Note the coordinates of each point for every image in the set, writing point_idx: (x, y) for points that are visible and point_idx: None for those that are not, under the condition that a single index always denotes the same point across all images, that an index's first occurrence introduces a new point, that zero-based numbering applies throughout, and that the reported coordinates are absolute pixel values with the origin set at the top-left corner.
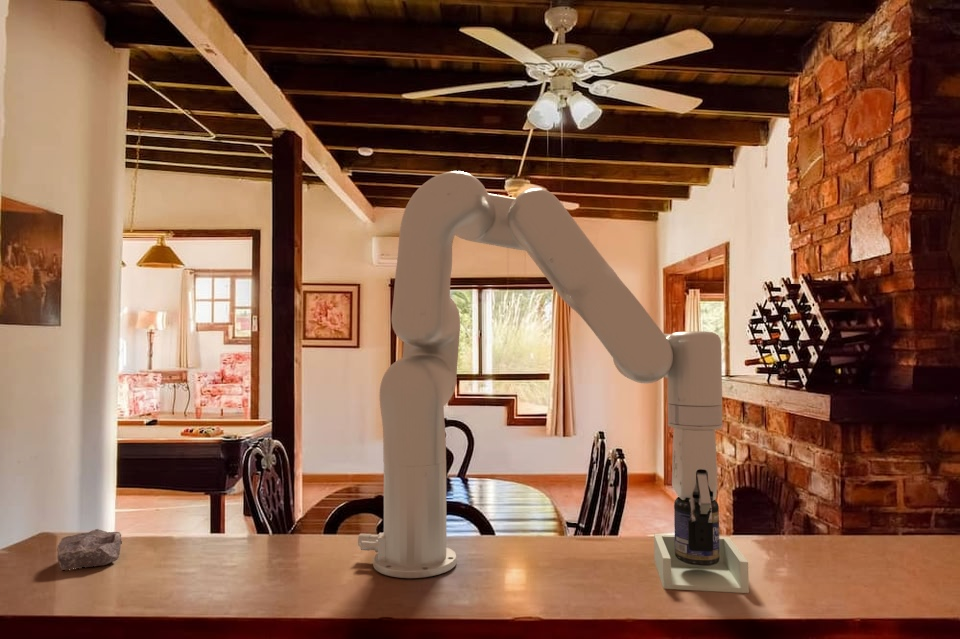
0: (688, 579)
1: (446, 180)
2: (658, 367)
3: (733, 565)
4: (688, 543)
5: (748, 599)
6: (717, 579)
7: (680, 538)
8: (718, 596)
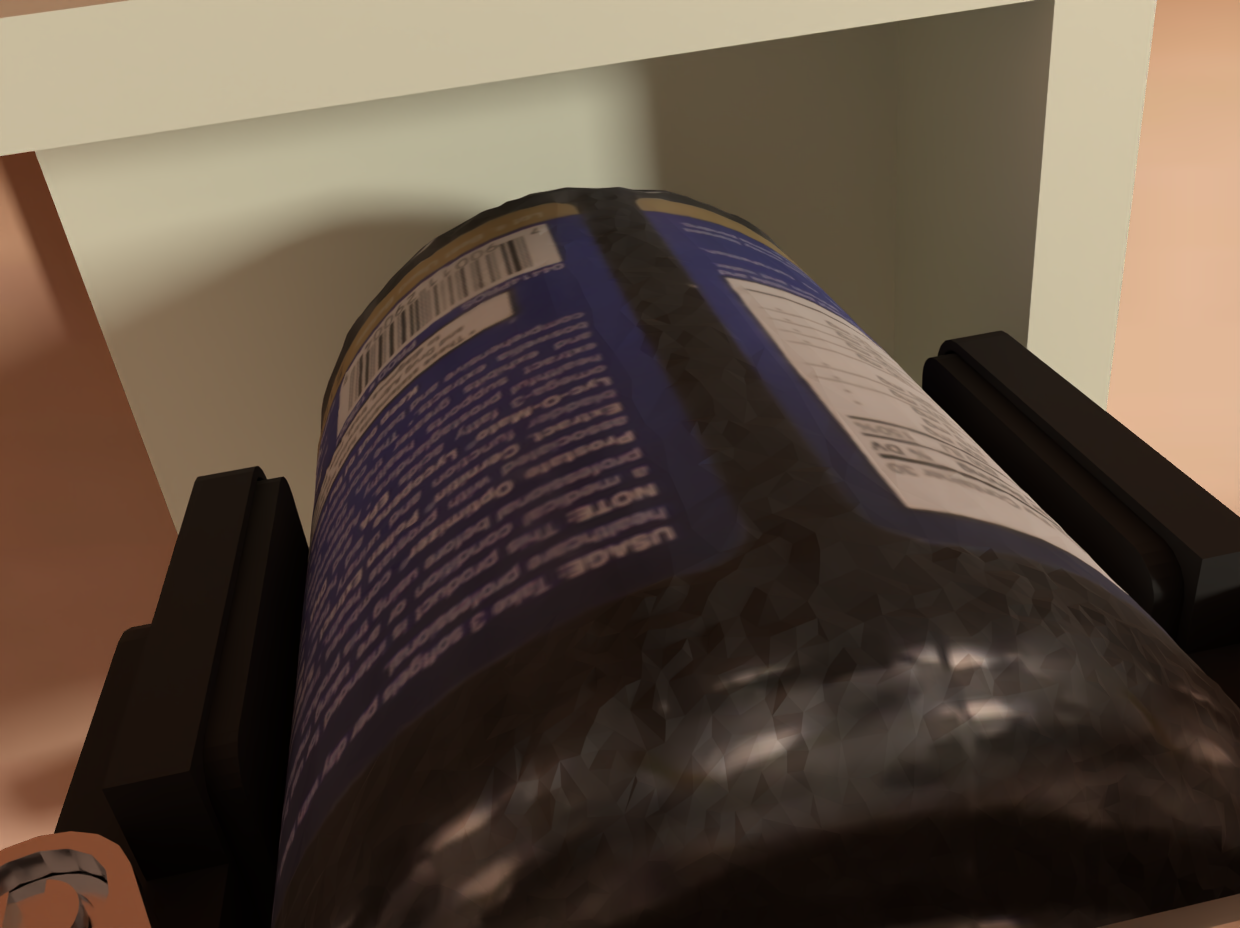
0: (288, 286)
1: None
2: None
3: None
4: (235, 498)
5: None
6: None
7: (405, 383)
8: (68, 536)
